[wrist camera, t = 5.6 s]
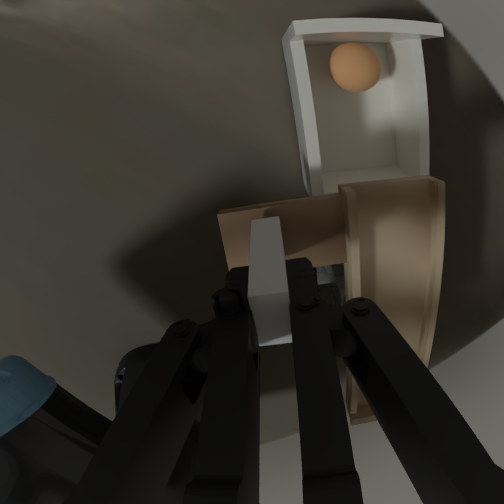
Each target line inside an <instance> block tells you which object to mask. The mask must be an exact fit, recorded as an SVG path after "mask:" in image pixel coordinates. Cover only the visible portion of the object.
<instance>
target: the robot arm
mask: <svg viewBox="0 0 504 504" xmlns="http://www.w3.org/2000/svg"><path fill="white" fill-rule="evenodd" d="M211 302H212V305H213V308H214V311H215V314H216V318H215V319H213V320H212V321H209V322H207V323H204V324H201V325H198V326H197V324H196V323H195V322H194V321H191V320H181V321H178V322H175V323H174V324H172V325H171V326H170V327H169V328H168V329H167V331H166V332H165V334H164V336H163V337H162V339H161V341H160V342H159V344H158V346H148V347H142V348H138V349H135V350H133V351H130V352H129V353H127V354H126V355H125V356H124V357H123V358H122V359H121V361H120V363H119V366H118V369H117V371H116V374H115V380H114V384H115V412H116V417H115V419H114V420H113V422H112V421H111V420H109V419H107V418H106V417H104V416H103V415H101V414H100V413H98V412H96V411H95V410H93V409H92V408H90V407H89V406H88V405H86V404H85V403H83V402H82V401H80V400H79V399H77V398H76V397H75V396H73V395H72V394H70V393H69V392H68V391H66V390H65V389H64V388H62V387H61V386H60V385H58V384H57V383H56V381H55V379H54V378H53V377H51V376H47V375H45V374H44V373H42V372H41V371H40V370H38V369H37V368H36V367H34V366H33V365H32V364H30V363H29V362H28V361H27V360H25V359H24V358H22V357H19V356H16V355H10V356H7V357H4V358H3V359H1V360H0V504H259V443H260V355H259V351H258V343H259V346H266V345H275V344H283V343H291V342H292V344H293V355H294V366H295V378H296V390H297V402H298V416H299V429H300V443H301V459H302V476H303V480H302V485H303V504H363V498H362V491H361V485H360V479H359V475H358V473H357V471H356V469H355V465H354V459H353V452H352V446H351V440H350V434H349V428H348V422H347V417H346V411H345V405H344V400H343V395H342V389H341V384H340V379H339V374H338V369H337V364H336V359H335V356H339V357H343V360H344V362H345V364H346V365H347V367H348V369H349V371H350V372H351V374H352V376H353V378H354V379H355V381H356V383H357V385H358V386H359V388H360V390H361V392H362V393H363V395H364V397H365V399H366V400H367V402H368V404H369V406H370V408H371V409H372V411H373V413H374V415H375V416H376V418H377V420H378V422H379V424H380V425H381V427H382V429H383V431H384V433H385V434H386V436H387V438H388V440H389V442H390V443H391V445H392V447H393V449H394V451H395V452H396V454H397V456H398V458H399V460H400V462H401V463H402V465H403V467H404V469H405V471H406V472H407V474H408V476H409V478H410V480H411V482H412V484H413V486H414V487H415V489H416V491H417V493H418V495H419V497H420V499H421V500H422V502H423V504H504V470H503V469H501V468H500V467H499V466H497V465H496V464H494V462H493V461H492V459H491V458H490V456H489V454H488V453H487V451H486V450H485V449H484V447H483V445H482V444H481V443H480V441H479V440H478V439H477V437H476V435H475V434H474V432H473V431H472V429H471V428H470V427H469V425H468V424H467V422H466V421H465V419H464V418H463V417H462V415H461V414H460V412H459V411H458V409H457V408H456V407H455V406H454V404H453V403H452V401H451V400H450V398H449V397H448V396H447V394H446V393H445V392H444V391H443V389H442V388H441V386H440V385H439V384H438V382H437V381H436V380H435V378H434V377H433V375H432V374H431V373H430V371H429V370H428V369H427V368H426V366H425V365H424V364H423V362H422V361H421V360H420V358H419V357H418V356H417V354H416V353H415V352H414V351H413V349H412V348H411V347H410V345H409V344H408V343H407V342H406V340H405V339H404V338H403V337H402V335H401V334H400V333H399V332H398V330H397V329H396V328H395V327H394V325H393V324H392V323H391V322H390V320H389V319H388V318H387V317H386V315H385V314H384V313H383V312H382V311H381V309H380V308H379V307H378V306H377V304H376V303H375V302H373V301H372V300H371V299H368V298H364V297H357V298H352V299H350V300H348V301H347V302H346V303H345V304H344V306H334V305H330V304H327V303H326V302H324V301H323V300H322V299H321V297H320V295H319V291H318V287H317V282H316V278H315V274H314V270H313V266H312V262H311V261H310V260H309V259H307V258H306V257H302V258H295V259H288V260H285V253H284V246H283V240H282V233H281V226H280V219H279V216H276V217H269V218H262V219H256V220H251V239H250V259H249V266H242V267H235V268H231V270H230V271H229V272H228V273H227V275H226V283H225V288H223V289H221V290H219V291H217V292H216V293H215V294H213V296H212V298H211Z"/></svg>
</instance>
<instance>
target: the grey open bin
mask: <svg viewBox="0 0 504 504" xmlns="http://www.w3.org/2000/svg"><path fill="white" fill-rule="evenodd" d="M437 37H444V34H443V28H442V24H439V23H431V22H422V21H412V20H400V19H382V18H327V19H309V20H296V21H292V23H291V24H290V26H289V28H288V29H287V31H286V33H285V34H284V36H283V38H282V39H281V40H282V45H283V51H284V56H285V62H286V67H287V73H288V79H289V85H290V91H291V97H292V103H293V110H294V116H295V123H296V129H297V136H298V143H299V151H300V158H301V166H302V174H303V182H304V185H305V187H306V190H307V192H308V195H309V197H311V196H318V195H326V194H334V193H338V184H346V183H355V182H363V181H373V180H382V179H392V178H402V177H413V176H425V175H429V117H428V100H427V87H426V77H425V68H424V59H423V52H422V45H421V40H422V39H429V38H437ZM346 42H358V43H362V44H364V45H366V46H368V47H369V48H371V49H372V50H373V51H374V52H375V53H376V55H377V56H378V58H379V60H380V64H381V75H380V78H379V80H378V82H377V83H376V84H375V85H374V86H373V87H372V88H370V89H369V90H366V91H363V92H351V91H348V90H345V89H343V88H341V87H340V86H339V85H337V84H336V83H335V82H334V80H333V79H332V77H331V76H330V73H329V70H328V60H329V56H330V54H331V53H332V51H333V50H334V49H335V48H336V47H337V46H339V45H341V44H343V43H346Z"/></svg>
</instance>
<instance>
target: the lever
mask: <svg viewBox="0 0 504 504" xmlns="http://www.w3.org/2000/svg"><path fill="white" fill-rule="evenodd" d="M276 216H279V219H280V226H281V233H282V240H283V246H284V253H285V260H288V259H295V258H302V257H306V258H307V259H309V260H310V261H311V262H312V266H313V267H320V266H327V265H333V264H340V263H344V272H345V295H346V302H347V301H348V300H350V299H352V298H357V297H364V298H368V299H371V300H372V301H373V302H375V303H376V304H377V306H378V307H379V308H380V309H381V311H382V312H383V313H384V314H385V315H386V317H387V318H388V319H389V320H390V322H391V323H392V324H393V325H394V327H395V328H396V329H397V330H398V332H399V333H400V334H401V335H402V337H403V338H404V339H405V340H406V342H407V343H408V344H409V345H410V347H411V348H412V349H413V351H414V352H415V353H416V354H417V356H418V357H419V358H420V360H421V361H422V362H423V364H424V365H425V366H426V368H428V363H429V358H430V353H431V348H432V343H433V337H434V332H435V325H436V319H437V312H438V305H439V297H440V289H441V279H442V268H443V256H444V239H445V182H444V181H441V180H439V179H437V178H434V177H432V176H429V175H425V176H413V177H402V178H392V179H382V180H373V181H363V182H355V183H346V184H338V193H334V194H326V195H318V196H311V197H303V198H296V199H289V200H282V201H275V202H268V203H262V204H255V205H249V206H242V207H236V208H230V209H224V210H219V212H218V214H217V217H218V222H219V226H220V231H221V236H222V241H223V245H224V250H225V255H226V259H227V264H228V268H229V271H230V270H231V268H235V267H242V266H249V259H250V239H251V220H256V219H262V218H269V217H276ZM346 404H347V408H348V413H349V417H350V422H351V425H357V424H362V423H367V422H372V421H377V418H376V416H375V415H374V413H373V411H372V409H371V408H370V406H369V404H368V402H367V400H366V399H365V397H364V395H363V393H362V392H361V390H360V388H359V386H358V385H357V383H356V381H355V379H354V378H353V376H352V374H351V372H350V371H349V369H348V367H347V370H346Z"/></svg>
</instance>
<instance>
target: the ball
mask: <svg viewBox="0 0 504 504" xmlns="http://www.w3.org/2000/svg"><path fill="white" fill-rule="evenodd" d="M328 70H329V73H330V76H331V77H332V79H333V80H334V82H335V83H336V84H337V85H339V86H340V87H341V88H343V89H345V90H348V91H351V92H363V91H366V90H369V89H370V88H372V87H373V86H374V85H375V84H376V83H377V82H378V80H379V78H380V75H381V64H380V60H379V58H378V56H377V55H376V53H375V52H374V51H373V50H372V49H371V48H369V47H368V46H366V45H364V44H362V43H358V42H346V43H343V44H341V45H339V46H337V47H336V48H335V49H334V50H333V51H332V53H331V54H330V56H329V60H328Z"/></svg>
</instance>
